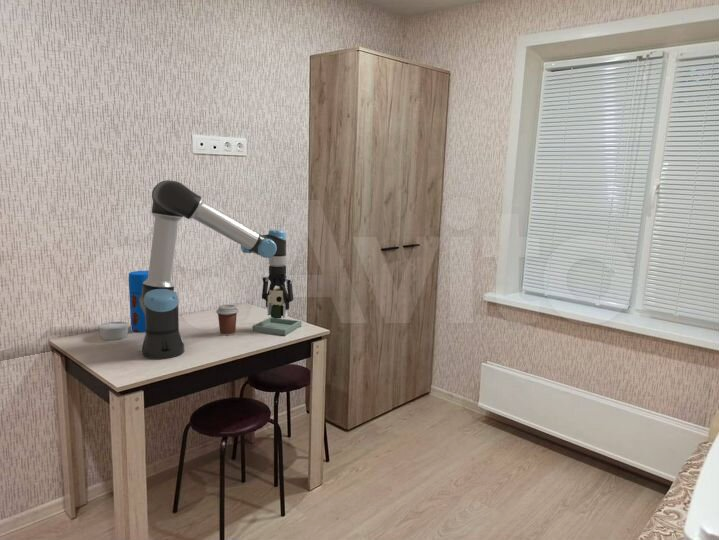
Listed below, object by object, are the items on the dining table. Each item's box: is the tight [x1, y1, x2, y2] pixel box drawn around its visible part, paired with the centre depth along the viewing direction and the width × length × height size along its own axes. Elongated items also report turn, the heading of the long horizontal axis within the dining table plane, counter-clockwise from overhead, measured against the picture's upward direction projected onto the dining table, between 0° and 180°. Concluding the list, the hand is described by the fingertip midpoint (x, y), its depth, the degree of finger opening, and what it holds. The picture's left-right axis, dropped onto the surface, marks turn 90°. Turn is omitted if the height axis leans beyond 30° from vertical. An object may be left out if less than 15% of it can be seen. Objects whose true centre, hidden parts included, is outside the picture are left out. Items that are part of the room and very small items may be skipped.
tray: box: [251, 316, 302, 337], centre depth 230 cm, size 16×16×2 cm
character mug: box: [268, 287, 285, 319], centre depth 228 cm, size 11×7×13 cm, turn 140°
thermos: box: [128, 270, 149, 333], centre depth 222 cm, size 11×11×25 cm
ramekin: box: [98, 321, 130, 341], centre depth 212 cm, size 11×11×5 cm
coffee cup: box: [215, 304, 239, 337], centre depth 220 cm, size 9×9×12 cm
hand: (277, 315), depth 229 cm, fingers closed on character mug, 7 cm apart
